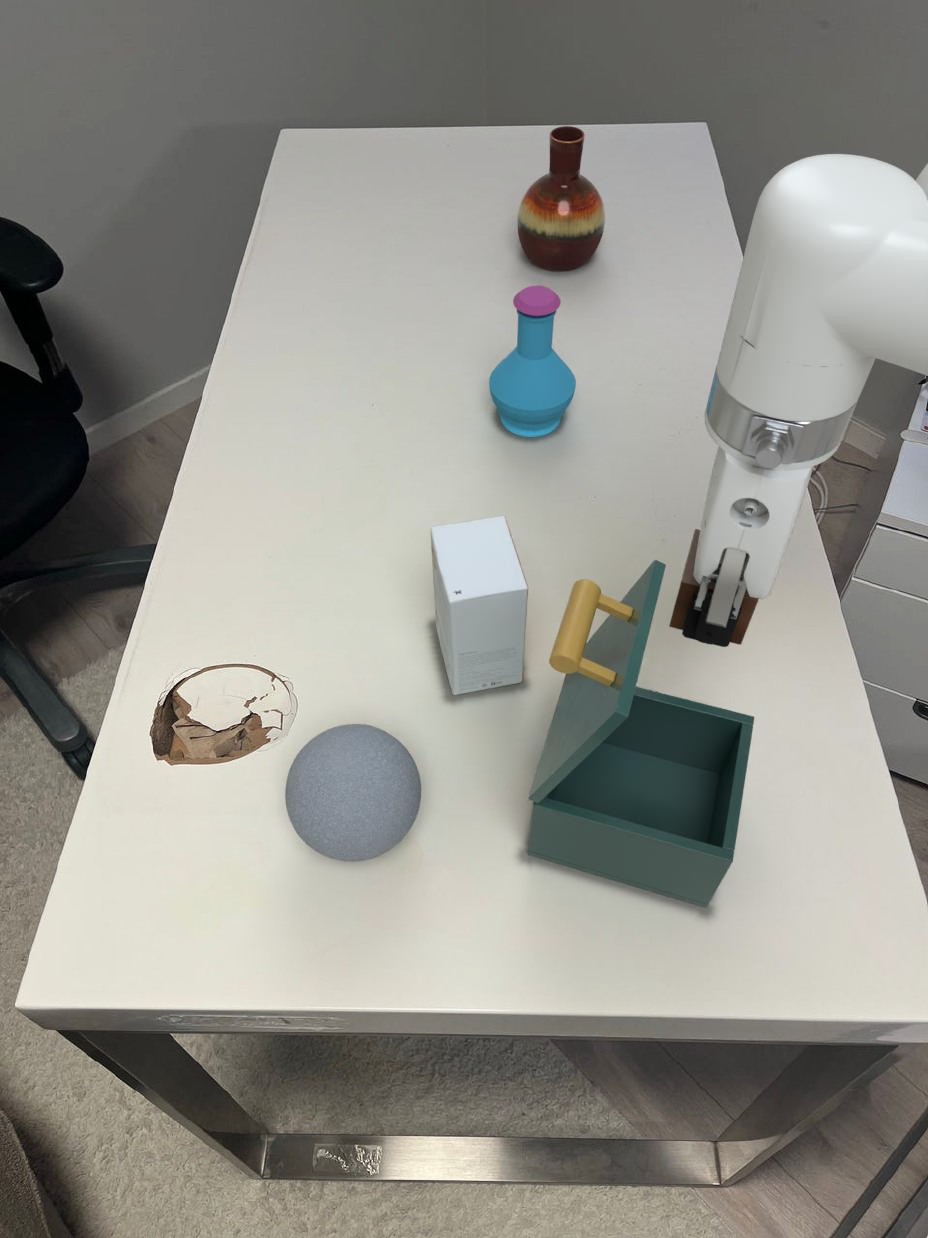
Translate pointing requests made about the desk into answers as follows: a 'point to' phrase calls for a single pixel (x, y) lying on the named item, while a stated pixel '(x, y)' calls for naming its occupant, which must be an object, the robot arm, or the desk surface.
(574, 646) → the lid
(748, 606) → the block
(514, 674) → the small box
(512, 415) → the perfume bottle
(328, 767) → the decorative stone
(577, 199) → the vase
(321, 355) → the desk surface
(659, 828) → the green hollow open box
